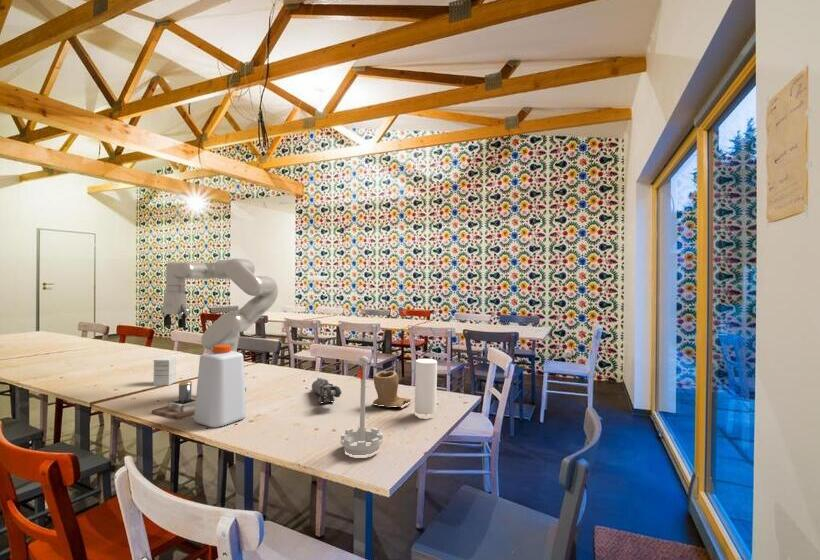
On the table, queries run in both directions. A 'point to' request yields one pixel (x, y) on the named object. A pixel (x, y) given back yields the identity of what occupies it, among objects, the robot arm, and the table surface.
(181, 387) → the gold topped cylinder
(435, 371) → the tall white tube
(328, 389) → the grey lumpy piece
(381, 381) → the stone cup
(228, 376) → the plastic bottle
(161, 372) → the supplement box
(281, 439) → the table surface
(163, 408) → the docking plate
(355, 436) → the flag stand
